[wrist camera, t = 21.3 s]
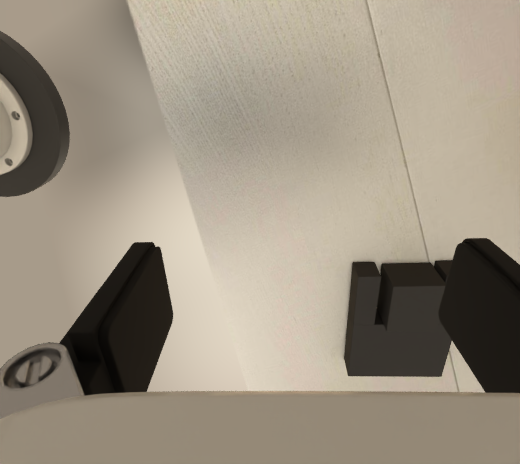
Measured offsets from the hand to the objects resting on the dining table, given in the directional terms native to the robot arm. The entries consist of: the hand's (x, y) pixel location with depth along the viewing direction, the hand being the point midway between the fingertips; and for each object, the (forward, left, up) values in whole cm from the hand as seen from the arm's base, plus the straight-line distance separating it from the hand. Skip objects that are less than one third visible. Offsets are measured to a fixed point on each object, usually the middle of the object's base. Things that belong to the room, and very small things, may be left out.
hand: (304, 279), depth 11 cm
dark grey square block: (+14, -19, -25) cm, 34 cm away
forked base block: (+14, -24, -25) cm, 37 cm away
